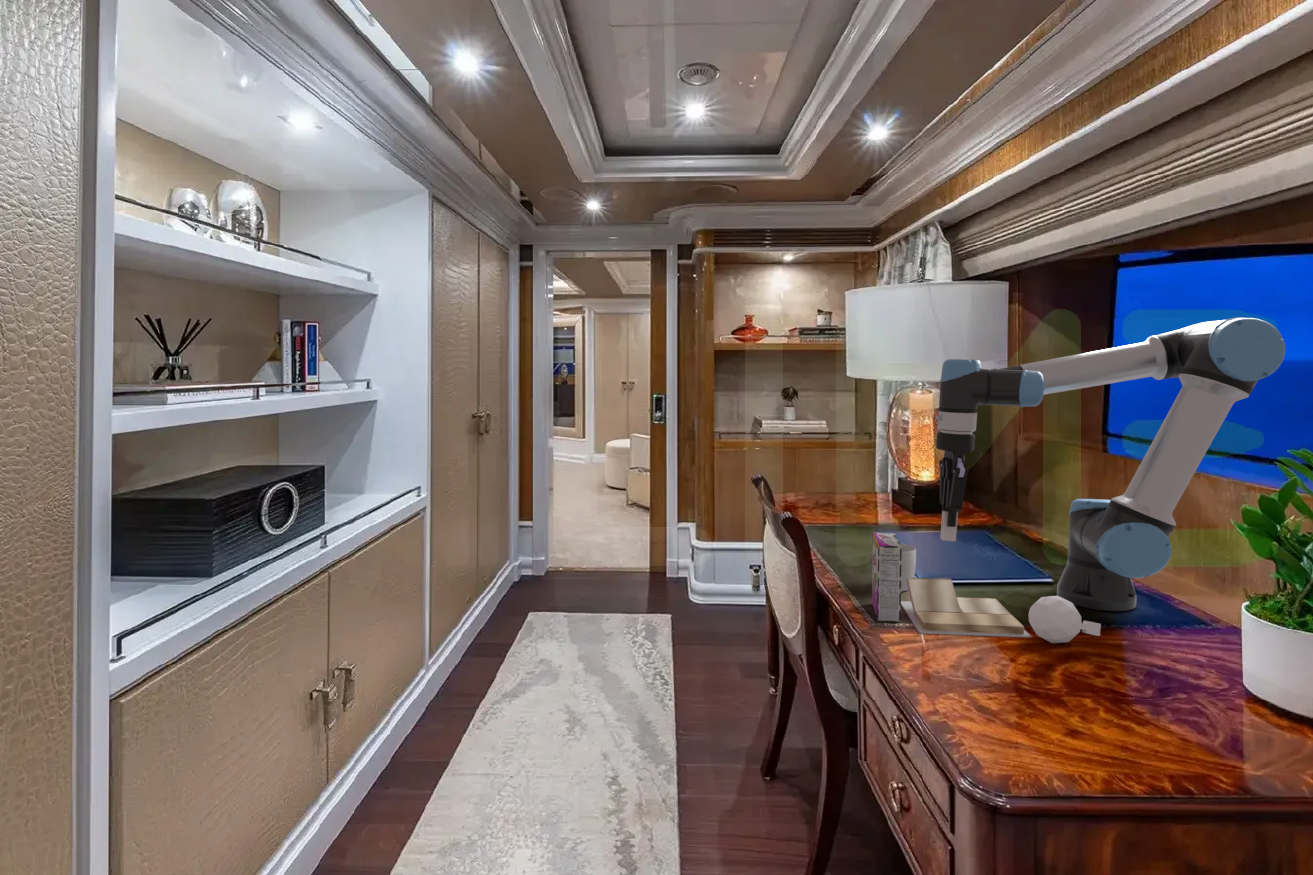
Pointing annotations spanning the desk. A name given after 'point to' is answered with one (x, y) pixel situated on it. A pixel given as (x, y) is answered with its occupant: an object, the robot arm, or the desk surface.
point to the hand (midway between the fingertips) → (948, 539)
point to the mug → (907, 564)
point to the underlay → (909, 610)
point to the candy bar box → (886, 577)
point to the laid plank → (969, 622)
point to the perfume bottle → (1058, 620)
